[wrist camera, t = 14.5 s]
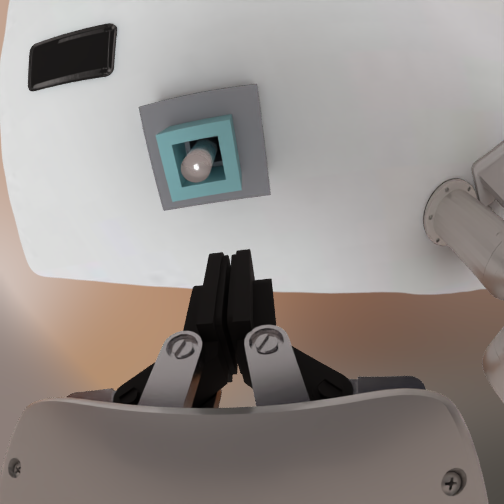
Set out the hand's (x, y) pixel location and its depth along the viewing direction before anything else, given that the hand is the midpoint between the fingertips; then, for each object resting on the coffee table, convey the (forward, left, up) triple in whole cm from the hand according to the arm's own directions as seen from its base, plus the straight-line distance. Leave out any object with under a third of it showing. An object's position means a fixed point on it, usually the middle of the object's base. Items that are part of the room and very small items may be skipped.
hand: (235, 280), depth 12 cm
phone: (+21, -19, -28) cm, 40 cm away
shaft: (+3, -2, -28) cm, 28 cm away
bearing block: (+3, -2, -28) cm, 28 cm away
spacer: (+3, -2, -20) cm, 20 cm away
